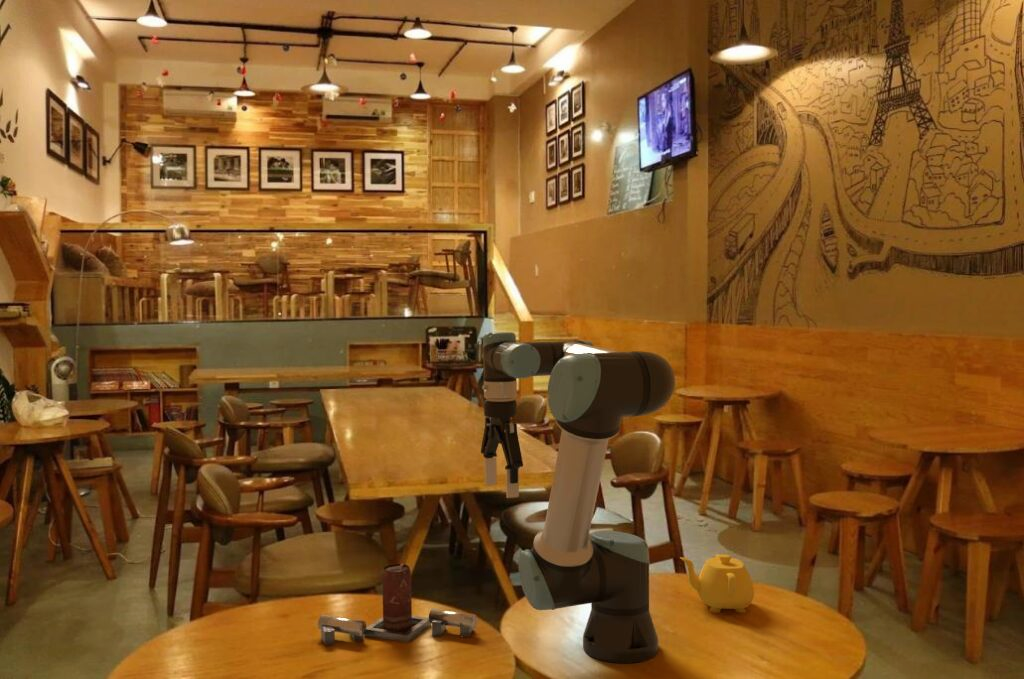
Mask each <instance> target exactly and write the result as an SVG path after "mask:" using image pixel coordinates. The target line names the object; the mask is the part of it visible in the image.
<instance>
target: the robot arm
mask: <svg viewBox="0 0 1024 679" xmlns="http://www.w3.org/2000/svg"><path fill="white" fill-rule="evenodd" d="M482 354H483V355H482V356H483V358H482V359H483V385H482V386H481V388H482V390H483V397H484V398H485V400H484V401H483V415H484V417H485V418H484V429H483V434H482V435H483V436H482V441H481V448H480V453H481V455H482V454H483V459H484V487H485V486H486V487H490V486H491V487H493V486H497V485H498V480H497V479H498V478H497V477H498V476H497V475H498V474H497V472H498V471H497V469H498V468H497V457H498V453H497V450H498V448H499V444H500V445H501V447H502V451H503V455H504V459H505V462H506V465H505V468H504V469H505V483H506V484H505V488H506V489H505V490H506V491H505V492H506V494H505V495H506V496H505V497H506V499H512V498H519V497H520V487H519V484H520V483H519V481H520V480H519V477H520V476H519V472H520V471H519V469H520V468H523V466H524V462H523V457H522V452H521V447H520V442H519V436H518V425H517V422H516V423H514V422H513V423H511V418H514V417H516V416H517V413H518V409H517V408H518V407H517V404H518V403H517V402H518V401H517V400H516V399H515V398H517V397H518V395H517V394H518V389H517V388H518V386H517V385H518V383H517V379H528V378H531V377H544V376H546V377H547V376H549V380H548V385H547V394H548V397H547V403H548V404H547V405H548V408H549V411H550V414H551V415H552V417H553V418H555V423H556V425H557V426H558V427H559V429H560V430H561V434H560V437H559V443H558V444H559V445H558V448H557V449H558V450H557V455H556V456H557V457H556V462H555V465H554V466H555V468H554V472H553V476H552V477H553V478H552V481H551V482H552V483H551V489H550V494H549V499H548V504H547V511H546V514H545V522H544V527H543V529H541V530H540V531H538V532H537V533H536V534H535V537H534V538H533V542H532V543H533V544H532V548H531V549H528V548H526V549H524V550H522V551H521V552H520V553H519V554H518V555H519V556H518V575H519V580H520V584H521V588H522V591H523V593H524V596H525V598H526V600H527V602H528V603H529V605H530V606H531V607H532V608H533V609H534V610H537V611H548V610H549V611H550V610H551V611H554V610H556V609H564V608H570V607H577V606H581V605H587V604H588V605H589V604H590V605H591V610H590V613H589V616H588V619H587V622H586V626H585V628H584V631H583V635H582V647H583V651H584V652H585V653H586V654H587V655H589V656H590V657H592V658H594V659H597V660H600V661H603V662H604V661H605V662H610V663H618V664H631V663H632V664H633V663H639V662H643V661H646V660H649V659H652V658H653V657H655V656H656V655H657V653H658V652H659V637H658V634H657V631H656V627H655V624H654V622H653V619H652V618H653V617H652V616H651V612H650V563H651V560H650V551H649V544H648V543H647V542H646V540H644V539H643V538H642V537H640V536H638V535H635V534H632V533H627V532H623V531H616V530H615V531H614V530H596V531H593V532H592V533H591V534H590V532H591V525H592V521H593V517H594V512H595V507H596V502H597V498H598V493H599V487H600V484H601V477H602V474H603V473H602V472H603V468H604V464H605V459H606V453H607V449H608V444H609V440H611V439H614V438H615V437H616V436H617V435H619V432H620V428H621V426H622V425H621V424H622V419H623V418H631V417H643V416H646V415H651V414H653V413H656V412H657V411H659V410H661V409H663V407H665V406H666V405H667V404H668V402H669V401H670V400H671V398H672V397H673V394H674V392H675V388H676V387H675V386H676V376H675V371H674V369H673V367H672V365H670V362H668V360H667V359H665V358H664V357H663V356H661V355H659V354H656V353H654V352H650V351H643V350H642V351H641V350H640V351H639V350H638V351H637V350H634V351H616V350H613V349H607V348H604V347H599V346H595V345H594V344H593V342H591V341H589V340H581V339H580V340H579V339H574V340H563V341H562V340H560V341H526V342H524V341H523V342H521V341H520V342H518V341H517V336H516V334H515V332H512V331H492V332H491V331H487V332H486V333H485V334H484V336H483V342H482ZM589 535H590V537H589Z"/></svg>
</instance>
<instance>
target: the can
mask: <svg viewBox="0 0 1024 679" xmlns="http://www.w3.org/2000/svg"><path fill="white" fill-rule="evenodd" d="M381 581H382V582H381V584H382V588H381V589H382V617H383V628H382V629H384V630H390V631H396V632H403V633H405V632H407V631H408V630H410V629H411V628H412V627H413V625H412V616H413V614H412V613H413V612H412V609H413V608H412V607H413V606H412V570H411V568H410V566H409V565H407V564H405V563H393V564H388V565H385V566H384V567H383V570H382V572H381Z"/></svg>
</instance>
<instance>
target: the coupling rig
mask: <svg viewBox="0 0 1024 679" xmlns="http://www.w3.org/2000/svg"><path fill="white" fill-rule="evenodd" d="M477 623H478V617H477V615H476V614H475V613H465V612H460V611H459V612H458V611H452V610H447V609H439V608H431V609H430V611H429V613H428V617H423V616H418V615H412V628H411V629H410V630H408V631H407V632H405V633H403V632H396V631H390V630H384V629H383V616H382V617H380V618H378V619H377V620H376V621H374V622H372V623H371V624H369V625H368V626H367V622H366V621H365V620H360V618H355V619H353V618H346V617H339V616H333V615H327V614H321V615H320V616H319V618H318V621H317V628H318V629H319V630H320V639H321V640H322V641H321V642H322V643H323V645H324V647H329V646H335V645H336V643H335V642H336V640H335V636H336V634H335V633H341V634H347V635H350V637H351V639H352V641H353V642H360V641H361V642H362V641H364V640H365V638H364V636H365V637H369V638H375V639H383V640H387V641H392V642H393V641H394V640H395V641H394V642H399V641H401V642H400V643H405V642H406V643H409V642H410V641H412V640H413V639H414V638H416V637H417V636H419V635H420V634H421V633H423V632H424V631H425V630H427V629H428V628H430V627H431V629H432V630H431V636H432V637H443V634H444V633H445V631H446V630H447V626H448V627H454V628H459V637H460V638H469V637H471V636H472V633H473V631H474V630H475V629H476V627H477ZM461 636H463V637H461Z"/></svg>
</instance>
